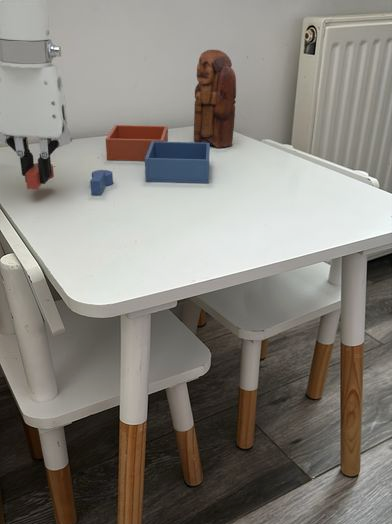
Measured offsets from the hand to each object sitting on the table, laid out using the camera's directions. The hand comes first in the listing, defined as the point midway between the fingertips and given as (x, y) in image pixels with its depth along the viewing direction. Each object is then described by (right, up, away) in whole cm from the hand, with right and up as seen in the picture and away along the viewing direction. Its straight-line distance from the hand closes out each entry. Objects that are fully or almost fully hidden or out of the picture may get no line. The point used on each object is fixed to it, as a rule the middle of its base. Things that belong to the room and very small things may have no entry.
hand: (37, 180), depth 90 cm
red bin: (+14, +13, +25) cm, 31 cm away
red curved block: (0, 0, +1) cm, 1 cm away
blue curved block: (+9, +1, +6) cm, 11 cm away
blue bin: (+22, +6, +14) cm, 27 cm away
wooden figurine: (+29, +18, +33) cm, 48 cm away
